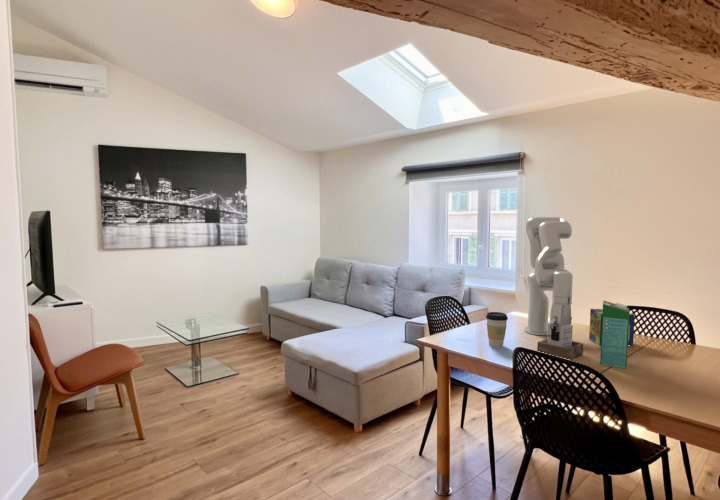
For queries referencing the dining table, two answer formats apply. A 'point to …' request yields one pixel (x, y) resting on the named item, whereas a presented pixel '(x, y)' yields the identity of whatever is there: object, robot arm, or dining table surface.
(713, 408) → the dining table surface
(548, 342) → the supplement box
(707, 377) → the dining table surface
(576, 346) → the bin
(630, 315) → the protein box
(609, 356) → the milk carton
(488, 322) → the coffee cup
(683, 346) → the dining table surface
